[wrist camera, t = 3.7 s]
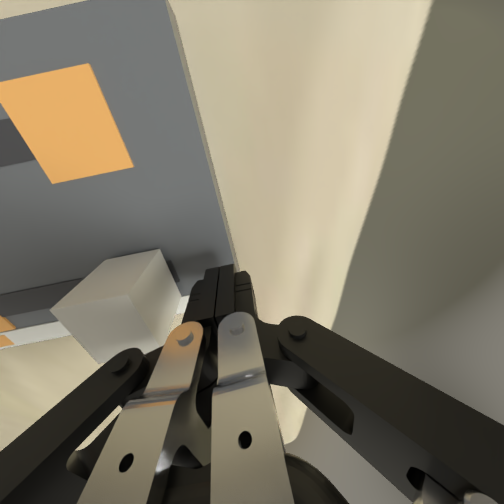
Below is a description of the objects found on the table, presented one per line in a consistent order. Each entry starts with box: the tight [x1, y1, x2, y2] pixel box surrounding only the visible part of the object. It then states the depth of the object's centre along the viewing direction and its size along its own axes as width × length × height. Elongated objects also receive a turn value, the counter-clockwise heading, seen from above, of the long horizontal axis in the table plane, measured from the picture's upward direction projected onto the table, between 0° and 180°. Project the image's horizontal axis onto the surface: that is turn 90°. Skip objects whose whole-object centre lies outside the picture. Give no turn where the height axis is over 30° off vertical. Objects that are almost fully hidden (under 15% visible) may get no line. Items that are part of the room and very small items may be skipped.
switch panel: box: [0, 0, 240, 349], centre depth 12 cm, size 15×24×2 cm, turn 100°
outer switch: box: [50, 249, 181, 364], centre depth 11 cm, size 4×3×4 cm
